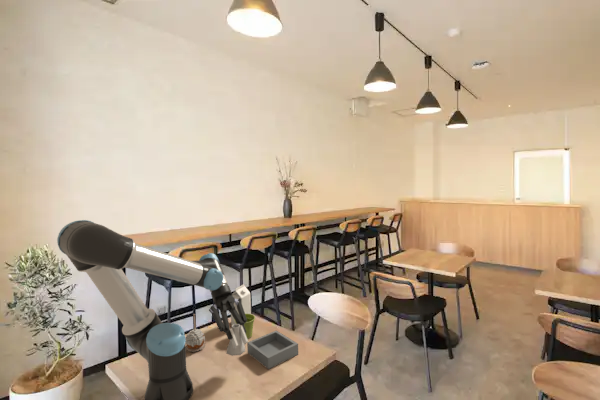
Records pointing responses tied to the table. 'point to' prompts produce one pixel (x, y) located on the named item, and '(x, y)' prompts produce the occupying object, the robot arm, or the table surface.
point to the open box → (272, 349)
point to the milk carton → (246, 300)
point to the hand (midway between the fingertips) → (241, 344)
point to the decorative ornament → (195, 339)
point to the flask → (241, 346)
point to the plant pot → (249, 324)
